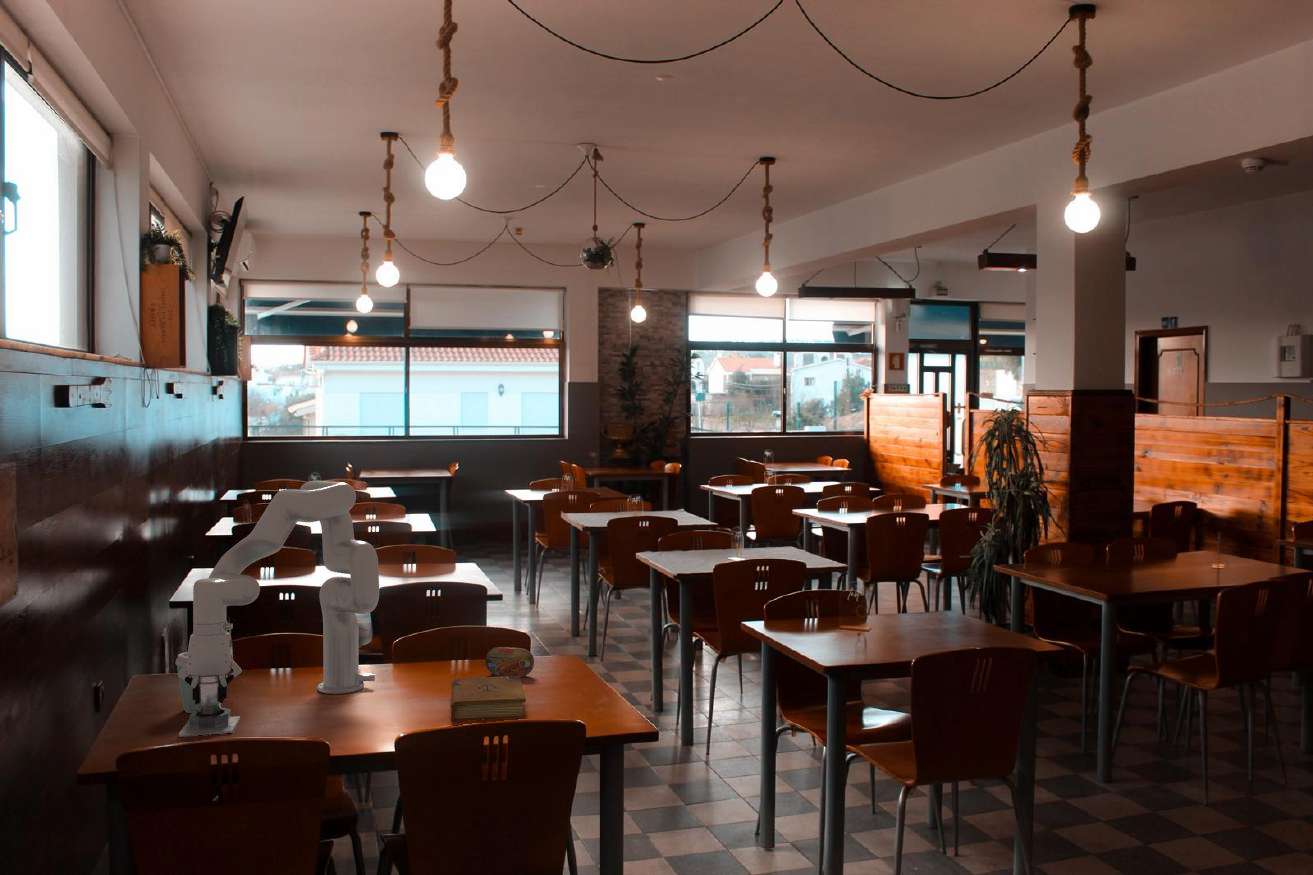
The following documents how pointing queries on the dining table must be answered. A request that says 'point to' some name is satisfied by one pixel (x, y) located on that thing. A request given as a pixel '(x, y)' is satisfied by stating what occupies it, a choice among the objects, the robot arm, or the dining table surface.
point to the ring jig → (209, 723)
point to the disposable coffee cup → (186, 686)
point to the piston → (209, 694)
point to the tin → (509, 661)
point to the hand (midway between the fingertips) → (209, 701)
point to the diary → (487, 698)
